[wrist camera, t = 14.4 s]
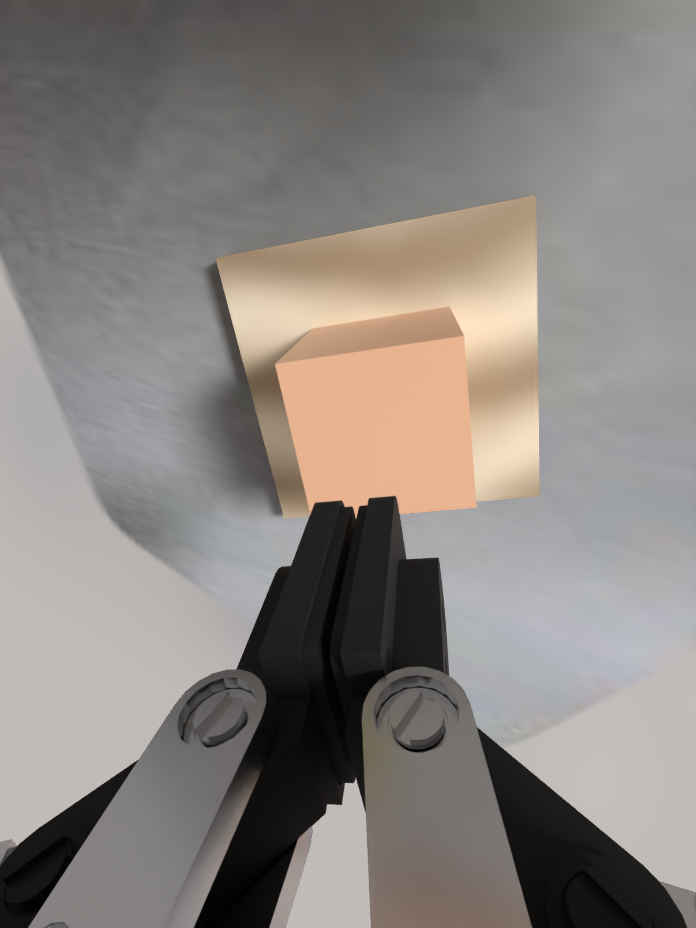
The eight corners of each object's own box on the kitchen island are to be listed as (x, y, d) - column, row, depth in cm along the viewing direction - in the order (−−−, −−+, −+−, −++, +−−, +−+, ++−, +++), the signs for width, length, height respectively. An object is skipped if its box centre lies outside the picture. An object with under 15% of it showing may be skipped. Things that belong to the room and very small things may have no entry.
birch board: (224, 256, 23) (215, 257, 22) (529, 197, 21) (535, 195, 20) (288, 507, 29) (284, 518, 28) (534, 485, 26) (539, 496, 25)
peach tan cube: (312, 328, 23) (274, 364, 17) (449, 306, 22) (464, 335, 16) (336, 450, 26) (311, 521, 19) (460, 437, 24) (476, 507, 18)
